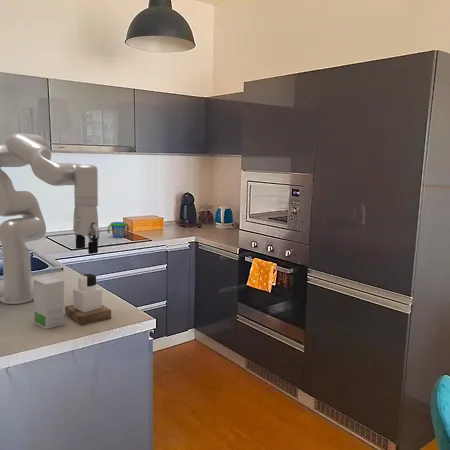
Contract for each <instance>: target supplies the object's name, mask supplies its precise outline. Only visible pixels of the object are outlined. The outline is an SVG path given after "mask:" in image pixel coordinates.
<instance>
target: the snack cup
mask: <svg viewBox="0 0 450 450" xmlns="http://www.w3.org/2000/svg"><path fill="white" fill-rule="evenodd" d="M129 227H130V226H129V224H128V223H127V222H123V221H114V222H112V221H111V222H110V224H109V225H108V226H107V234H110V233H112V237H113V238H114V239H120V238H124V237H125V231H126V232H130V228H129ZM110 229H111V230H110Z"/></svg>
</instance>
